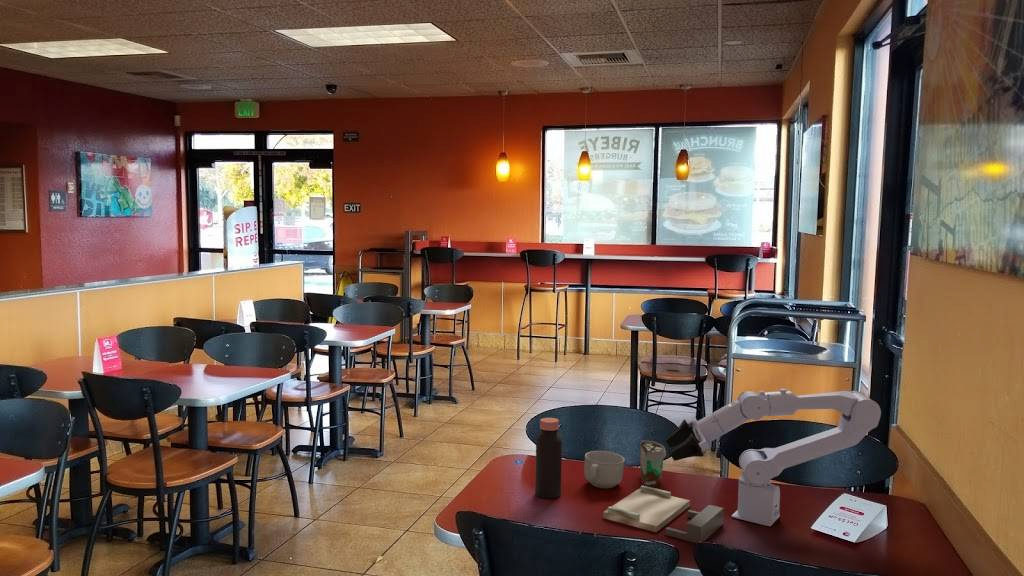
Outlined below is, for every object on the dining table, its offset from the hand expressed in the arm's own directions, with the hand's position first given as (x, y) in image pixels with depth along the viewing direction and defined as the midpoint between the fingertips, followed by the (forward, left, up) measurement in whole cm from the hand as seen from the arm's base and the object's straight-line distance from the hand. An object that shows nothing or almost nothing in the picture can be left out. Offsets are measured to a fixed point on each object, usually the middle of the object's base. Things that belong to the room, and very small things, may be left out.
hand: (669, 450), depth 189 cm
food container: (+12, -17, -16) cm, 26 cm away
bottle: (+30, +9, -16) cm, 35 cm away
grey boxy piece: (-10, +7, -16) cm, 19 cm away
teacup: (+22, -5, -16) cm, 27 cm away
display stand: (+4, +4, -16) cm, 16 cm away
